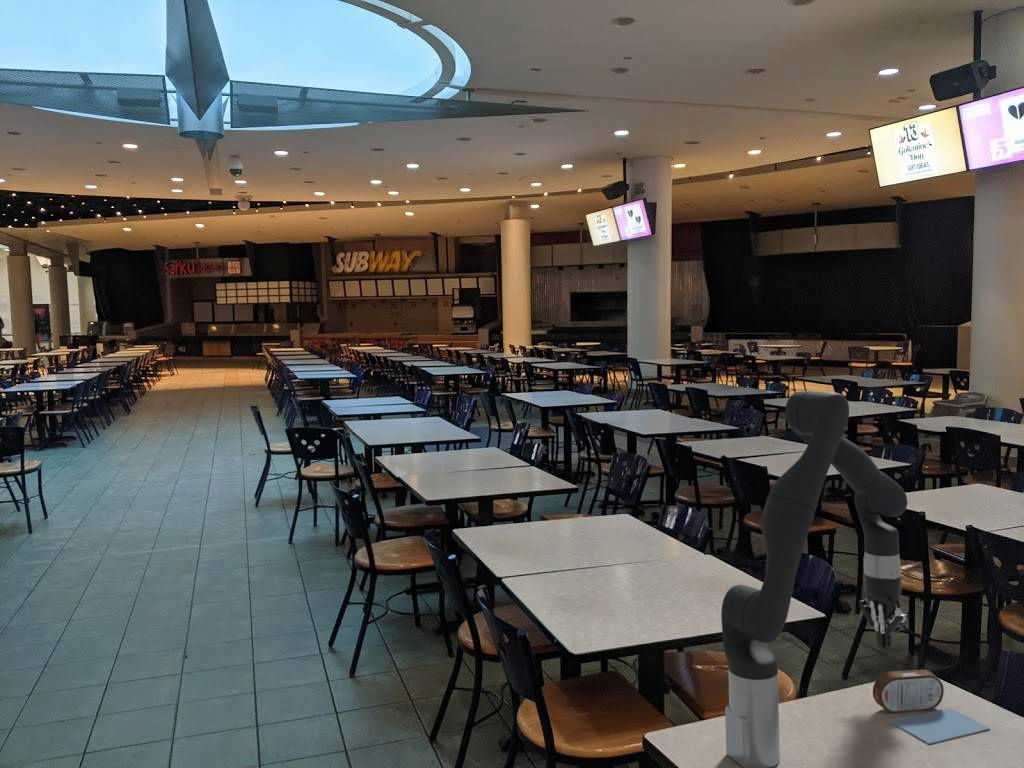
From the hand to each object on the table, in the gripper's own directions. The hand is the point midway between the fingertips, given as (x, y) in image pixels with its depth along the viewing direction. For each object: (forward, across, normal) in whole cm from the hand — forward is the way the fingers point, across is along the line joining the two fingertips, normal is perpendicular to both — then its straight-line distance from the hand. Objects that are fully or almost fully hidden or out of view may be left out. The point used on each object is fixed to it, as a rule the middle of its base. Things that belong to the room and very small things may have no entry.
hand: (884, 648), depth 178 cm
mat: (+11, +15, 0) cm, 19 cm away
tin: (+11, +7, 0) cm, 13 cm away
